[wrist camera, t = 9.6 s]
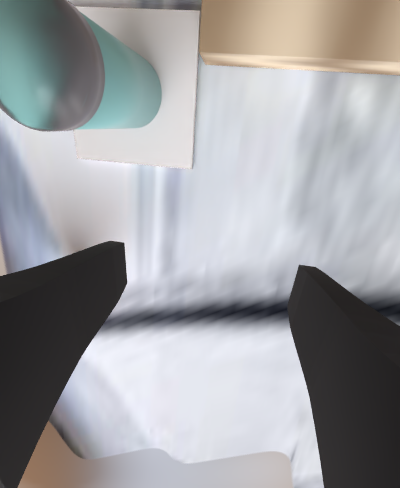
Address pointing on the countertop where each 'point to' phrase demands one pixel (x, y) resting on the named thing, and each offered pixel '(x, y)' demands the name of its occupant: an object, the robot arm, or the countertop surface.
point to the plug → (70, 71)
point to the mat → (172, 85)
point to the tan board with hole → (302, 34)
